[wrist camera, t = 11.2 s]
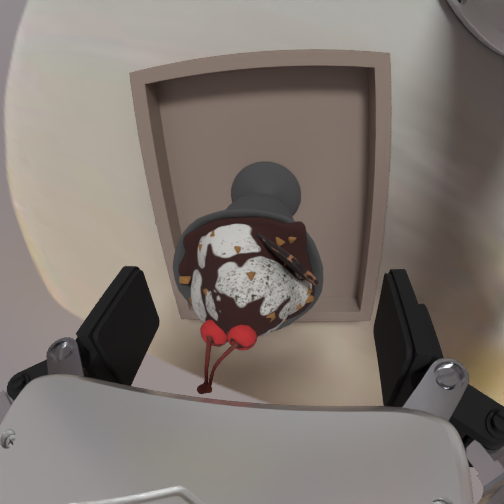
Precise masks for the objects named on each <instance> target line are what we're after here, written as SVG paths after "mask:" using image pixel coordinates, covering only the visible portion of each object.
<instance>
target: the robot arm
mask: <svg viewBox="0 0 504 504" xmlns="http://www.w3.org/2000/svg"><path fill="white" fill-rule="evenodd" d="M447 2H448V3H449V5H450V6H451V8H452V9H453V11H454V12H455V14H456V15H457V16H458V18H459V19H460V20H461V21H462V23H463V24H464V25H465V26H466V28H467V29H468V30H469V31H470V32H471V33H472V34H473V35H474V36H475V37H476V38H477V39H478V40H480V41H481V42H482V43H484V44H485V45H486V46H487V47H488V48H490V49H491V50H493V51H495V52H496V53H498V54H500V55H502V56H504V0H458V1H457V0H447ZM158 327H159V317H158V314H157V311H156V308H155V305H154V303H153V300H152V297H151V294H150V291H149V288H148V285H147V282H146V279H145V276H144V273H143V271H142V270H140V269H139V268H138V267H136V266H125V267H123V268H122V270H121V271H120V272H119V274H118V275H117V276H116V278H115V279H114V280H113V282H112V283H111V284H110V286H109V287H108V288H107V290H106V291H105V293H104V294H103V295H102V297H101V298H100V300H99V301H98V302H97V304H96V305H95V307H94V308H93V309H92V311H91V312H90V314H89V315H88V317H87V318H86V320H85V321H84V322H83V324H82V325H81V327H80V328H79V330H78V331H77V333H76V335H77V339H76V340H74V339H73V338H70V337H64V338H61V339H59V340H57V341H55V342H54V343H53V344H52V345H51V346H50V347H49V349H48V351H47V356H46V357H47V360H45V361H43V362H40V363H38V364H36V365H34V366H32V367H30V368H28V369H26V370H23V371H21V372H19V373H17V374H16V375H14V376H13V377H12V378H11V379H10V381H9V382H8V386H7V392H5V391H2V392H0V504H474V501H473V491H472V482H471V475H470V469H469V467H474V468H475V469H476V471H477V472H478V473H479V474H478V475H477V477H478V478H479V479H480V481H481V483H482V485H483V490H484V491H483V495H482V498H481V499H480V501H479V502H478V503H477V504H504V407H503V406H502V405H500V404H499V403H497V402H496V401H494V400H493V399H491V398H489V397H488V396H486V395H485V394H483V393H482V392H480V391H478V390H477V389H475V388H474V387H472V386H471V385H469V384H468V382H469V374H468V372H467V369H466V368H465V367H464V365H463V364H462V363H460V362H459V361H457V360H454V359H452V358H443V354H442V351H441V348H440V345H439V342H438V339H437V336H436V333H435V330H434V327H433V324H432V321H431V318H430V315H429V313H428V310H427V308H426V306H425V305H424V304H418V302H417V299H416V296H415V293H414V291H413V288H412V285H411V283H410V280H409V277H408V275H407V272H406V270H405V269H391V270H390V271H389V273H385V275H384V279H383V284H382V290H381V295H380V300H379V305H378V310H377V314H376V319H375V324H374V339H375V345H376V352H377V358H378V365H379V372H380V380H381V388H382V396H383V404H384V406H296V405H275V404H260V403H246V402H235V401H225V400H216V399H208V398H200V397H192V396H185V395H179V394H172V393H165V392H160V391H153V390H148V389H142V388H138V387H132V386H131V384H132V382H133V380H134V378H135V375H136V373H137V371H138V369H139V367H140V365H141V363H142V360H143V358H144V356H145V354H146V352H147V350H148V348H149V346H150V344H151V342H152V340H153V337H154V335H155V333H156V331H157V329H158Z"/></svg>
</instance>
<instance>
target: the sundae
mask: <svg viewBox="0 0 504 504" xmlns="http://www.w3.org/2000/svg"><path fill="white" fill-rule="evenodd" d="M231 198H232V204H230V205H229V206H228V207H227V208H226V209H225V210H222V211H218V212H215V213H211V214H208V215H205V216H203V217H200V218H198V219H196V220H195V221H194V222H192V223H191V224H190V225H189V226H188V227H187V228H186V230H185V231H184V232H183V234H182V235H181V237H180V239H179V241H178V243H177V246H176V250H175V254H174V260H173V272H174V279H175V282H176V285H177V287H178V290H179V291H180V293H181V294H182V295H183V297H184V298H185V299H186V300H187V301H188V302H189V303H190V304H191V305H192V306H193V309H194V311H195V313H196V315H197V316H198V318H199V319H200V320H201V321H202V322H203V323H204V324H203V325H202V326H201V335H202V338H203V340H204V341H205V342H206V343H207V346H206V358H205V382H204V383H203V384H202V385H200V386H198V388H197V391H198V393H200V394H204V393H210V392H212V387H211V385H212V380H213V375H214V371H215V369H216V367H217V366H218V364H219V363H220V362H221V361H222V360H223V359H224V358H225V357H226V356H227V355H228V354H230V353H231V352H232V351H233V350H234V349H235V348H236V349H238V350H248V349H250V348H251V347H253V346H254V344H255V343H256V341H257V337H258V336H263V335H266V334H268V333H271V332H273V331H275V330H278V329H281V328H283V327H285V326H287V325H289V324H291V323H292V322H294V321H295V320H297V319H298V318H300V317H301V316H303V315H304V314H305V313H306V312H308V311H309V310H310V309H311V308H312V307H313V306H314V304H315V303H316V302H317V300H318V298H319V296H320V294H321V292H322V287H323V265H322V261H321V258H320V255H319V252H318V250H317V247H316V245H315V243H314V241H313V239H312V238H311V237H310V235H309V234H308V232H307V231H306V227H305V225H304V223H303V222H300V221H297V222H296V221H294V219H293V217H292V216H293V215H294V214H295V213H296V211H297V209H298V207H299V205H300V202H301V188H300V185H299V183H298V181H297V179H296V177H295V176H294V175H293V174H292V173H291V172H290V171H289V170H288V169H287V168H285V167H284V166H282V165H280V164H277V163H274V162H256V163H253V164H250V165H248V166H246V167H245V168H243V169H242V170H241V171H240V172H239V173H238V174H237V176H236V177H235V179H234V181H233V184H232V188H231ZM226 342H229V343H230V344H231V345H232V346H231V347H230V348H229V349H228V350H227V351H226V352H225V353H224V354H223V355H222V356H221V357H220V358H219V359H218V360H217V362H216V363H215V365H214V366H213V369H212V372H211V375H210V378H209V382H208V366H209V360H210V351H211V345H212V346H217V347H220V346H222V345H225V343H226Z"/></svg>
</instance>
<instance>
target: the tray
mask: <svg viewBox="0 0 504 504" xmlns="http://www.w3.org/2000/svg"><path fill="white" fill-rule="evenodd" d="M129 74H130V82H131V89H132V96H133V103H134V110H135V116H136V123H137V129H138V135H139V141H140V146H141V152H142V157H143V163H144V168H145V173H146V178H147V183H148V188H149V193H150V198H151V202H152V207H153V211H154V216H155V220H156V225H157V229H158V233H159V237H160V242H161V246H162V250H163V254H164V258H165V262H166V266H167V269H168V273H169V277H170V281H171V285H172V288H173V292H174V296H175V299H176V303H177V306H178V310H179V313H180V317H181V319H195V320H200V319H199V318H198V316H197V315H196V313H195V311H194V309H193V306H192V305H191V304H190V303H189V302H188V301H187V300H186V299H185V298H184V297H183V295H182V294H181V293H180V291H179V290H178V287H177V285H176V282H175V279H174V272H173V260H174V254H175V250H176V246H177V243H178V241H179V239H180V237H181V235H182V234H183V232H184V231H185V230H186V228H187V227H188V226H189V225H190V224H191V223H192V222H194V221H195V220H196V219H198V218H200V217H203V216H205V215H208V214H211V213H215V212H218V211H222V210H225V209H226V208H227V207H228V206H229V205H230V204H232V198H231V188H232V184H233V181H234V179H235V177H236V176H237V174H238V173H239V172H240V171H241V170H242V169H243V168H245V167H246V166H248V165H250V164H253V163H256V162H274V163H277V164H280V165H282V166H284V167H285V168H287V169H288V170H289V171H290V172H291V173H292V174H293V175H294V176H295V177H296V179H297V181H298V183H299V185H300V188H301V202H300V205H299V207H298V209H297V211H296V213H295V214H294V215H293V216H292V217H293V219H294V221H296V222H297V221H300V222H303V223H304V225H305V227H306V231H307V232H308V234H309V235H310V237H311V238H312V239H313V241H314V243H315V245H316V247H317V250H318V252H319V255H320V258H321V261H322V265H323V287H322V292H321V294H320V296H319V298H318V300H317V302H316V303H315V304H314V306H313V307H312V308H311V309H310V310H309V311H308V312H306V313H305V314H304V315H303V316H301V317H300V318H298V319H297V320H295V321H294V322H332V321H367V320H371V315H372V309H373V304H374V298H375V293H376V287H377V280H378V274H379V267H380V261H381V253H382V246H383V238H384V229H385V220H386V210H387V199H388V187H389V172H390V153H391V65H390V53H383V52H371V51H355V50H322V49H310V50H277V51H261V52H249V53H239V54H230V55H221V56H214V57H207V58H200V59H194V60H188V61H182V62H177V63H171V64H166V65H162V66H157V67H152V68H148V69H144V70H139V71H135V72H131V73H129Z"/></svg>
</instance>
